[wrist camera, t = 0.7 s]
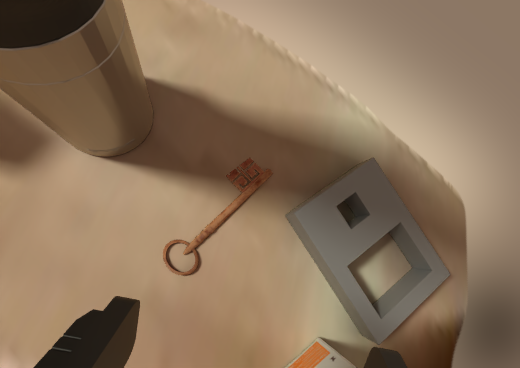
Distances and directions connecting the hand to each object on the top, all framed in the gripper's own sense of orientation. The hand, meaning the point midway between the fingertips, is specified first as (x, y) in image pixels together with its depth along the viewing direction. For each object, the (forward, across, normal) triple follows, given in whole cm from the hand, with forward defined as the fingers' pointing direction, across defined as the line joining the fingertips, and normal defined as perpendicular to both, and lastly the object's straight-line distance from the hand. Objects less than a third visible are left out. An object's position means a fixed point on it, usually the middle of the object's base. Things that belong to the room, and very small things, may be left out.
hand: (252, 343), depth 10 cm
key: (+21, +4, +4) cm, 22 cm away
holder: (+23, -13, +5) cm, 27 cm away
